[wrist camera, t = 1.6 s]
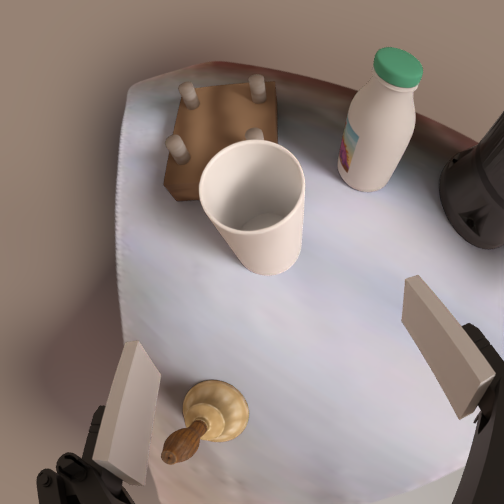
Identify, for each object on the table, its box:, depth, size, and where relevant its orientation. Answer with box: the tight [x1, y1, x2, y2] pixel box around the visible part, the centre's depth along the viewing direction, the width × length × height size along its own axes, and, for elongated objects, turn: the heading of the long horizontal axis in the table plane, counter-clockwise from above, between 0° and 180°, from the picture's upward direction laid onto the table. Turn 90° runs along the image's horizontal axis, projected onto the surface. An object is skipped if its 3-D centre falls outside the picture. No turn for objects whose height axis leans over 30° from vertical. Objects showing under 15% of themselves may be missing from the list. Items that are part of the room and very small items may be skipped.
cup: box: [199, 140, 305, 276], centre depth 30 cm, size 8×8×16 cm
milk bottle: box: [337, 47, 423, 192], centre depth 30 cm, size 8×8×20 cm
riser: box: [163, 74, 278, 201], centre depth 38 cm, size 14×17×9 cm
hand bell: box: [161, 380, 249, 465], centre depth 26 cm, size 8×8×16 cm
